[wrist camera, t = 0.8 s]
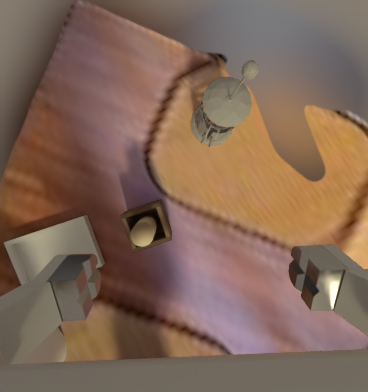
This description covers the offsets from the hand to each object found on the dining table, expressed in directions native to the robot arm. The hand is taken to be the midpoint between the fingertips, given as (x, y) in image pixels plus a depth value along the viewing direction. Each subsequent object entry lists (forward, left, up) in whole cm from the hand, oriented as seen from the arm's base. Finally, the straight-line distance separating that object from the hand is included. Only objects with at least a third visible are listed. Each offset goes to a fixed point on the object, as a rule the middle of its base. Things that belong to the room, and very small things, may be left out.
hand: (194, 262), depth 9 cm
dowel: (-4, +8, -40) cm, 41 cm away
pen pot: (-4, +8, -41) cm, 42 cm away
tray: (-4, +30, -41) cm, 51 cm away
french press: (+12, -12, -41) cm, 45 cm away
